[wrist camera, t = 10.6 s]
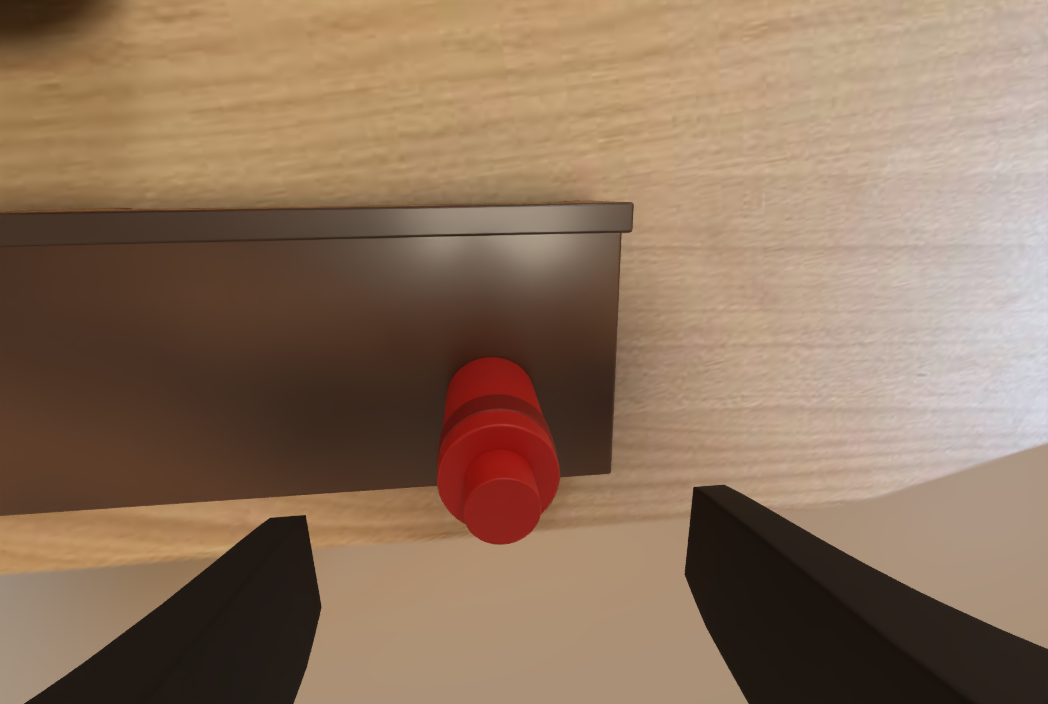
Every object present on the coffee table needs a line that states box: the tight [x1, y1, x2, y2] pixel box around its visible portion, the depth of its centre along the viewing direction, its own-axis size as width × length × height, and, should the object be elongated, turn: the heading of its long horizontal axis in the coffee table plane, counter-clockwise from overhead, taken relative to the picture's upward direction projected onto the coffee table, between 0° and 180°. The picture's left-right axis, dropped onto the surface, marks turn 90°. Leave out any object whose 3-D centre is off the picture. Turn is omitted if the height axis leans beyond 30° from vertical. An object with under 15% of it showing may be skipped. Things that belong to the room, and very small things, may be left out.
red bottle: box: [437, 357, 560, 544], centre depth 13 cm, size 3×3×6 cm
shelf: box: [0, 201, 634, 516], centre depth 15 cm, size 9×32×4 cm, turn 91°
